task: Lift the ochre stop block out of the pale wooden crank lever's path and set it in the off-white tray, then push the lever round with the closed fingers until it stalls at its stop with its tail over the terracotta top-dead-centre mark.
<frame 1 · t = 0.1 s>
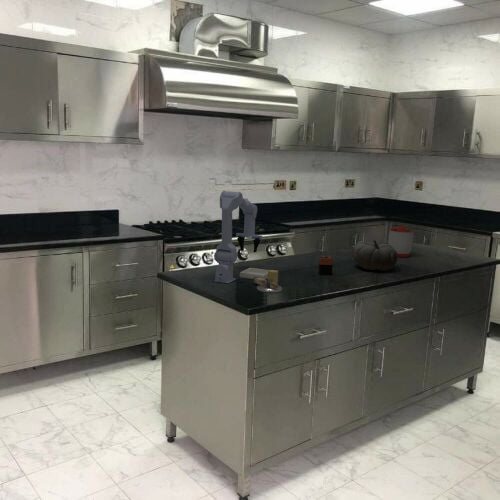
hand: (248, 251, 293), 10 cm above the counter, fingers open, 7 cm apart
gourd: (374, 269, 309), on the counter
stop block: (272, 282, 269), on the counter
tray: (256, 276, 280), on the counter
citrus juicer: (400, 256, 350), on the counter
crank lever: (265, 281, 258), point 3 cm above the counter, hinge at 0.0°
battery: (325, 274, 291), on the counter
crank base: (269, 289, 257), on the counter
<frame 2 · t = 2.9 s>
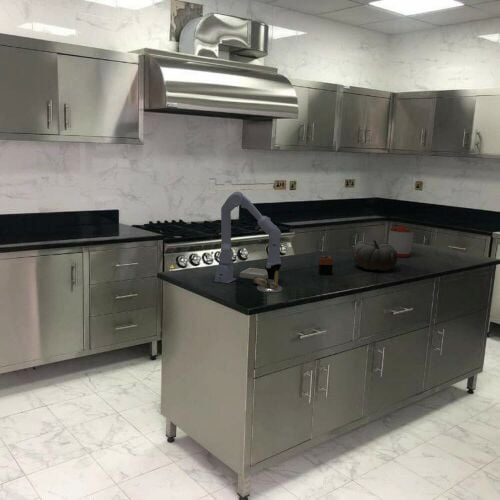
hand: (272, 279, 268), 2 cm above the counter, fingers closed on stop block, 4 cm apart
stop block: (272, 282, 269), on the counter, touching gripper
everything else where it was.
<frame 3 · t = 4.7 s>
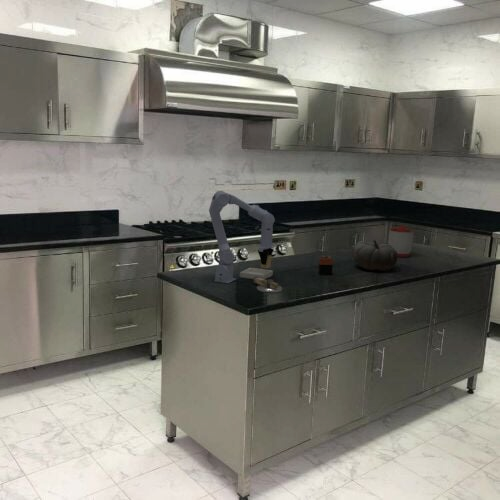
hand: (265, 263, 273), 8 cm above the counter, fingers closed on stop block, 4 cm apart
stop block: (265, 267, 273), point 7 cm above the counter, touching gripper
everything else where it was.
when the fingers open (3 cm above the counter, at t = 6.6 s): stop block stays where it is, resting on tray.
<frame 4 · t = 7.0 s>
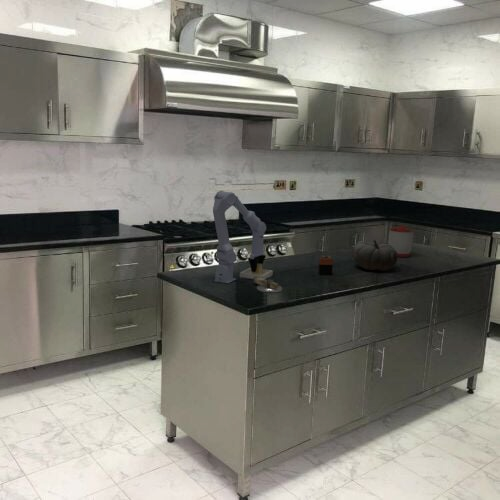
hand: (256, 270, 280), 3 cm above the counter, fingers open, 7 cm apart
stop block: (256, 275, 280), resting on tray
everything else where it was.
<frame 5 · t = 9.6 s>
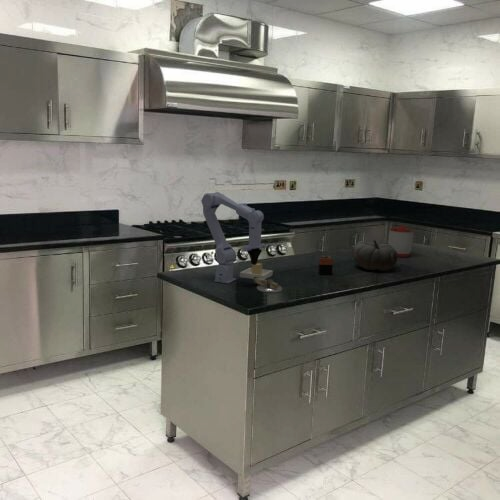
hand: (253, 264, 260), 10 cm above the counter, fingers closed
nothing on the counter moved.
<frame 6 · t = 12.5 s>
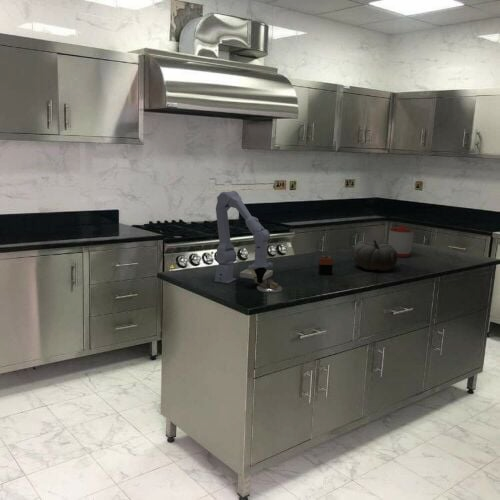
hand: (259, 283, 259), 2 cm above the counter, fingers closed, pressing on crank lever
crank lever: (265, 281, 259), point 3 cm above the counter, hinge at -1.2°, touching gripper
everything else where it was.
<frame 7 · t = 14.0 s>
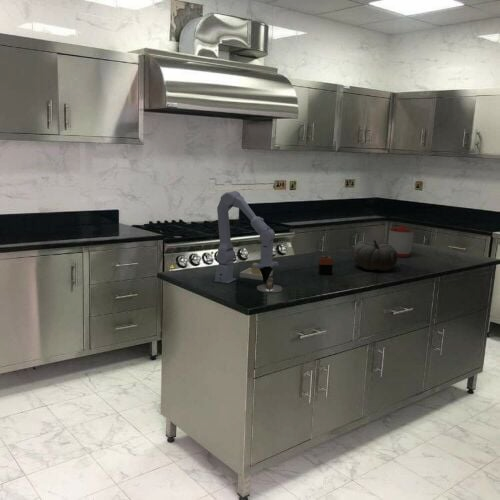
hand: (265, 282, 262), 2 cm above the counter, fingers closed
crank lever: (270, 281, 259), point 3 cm above the counter, hinge at -46.4°, touching gripper
everything else where it was.
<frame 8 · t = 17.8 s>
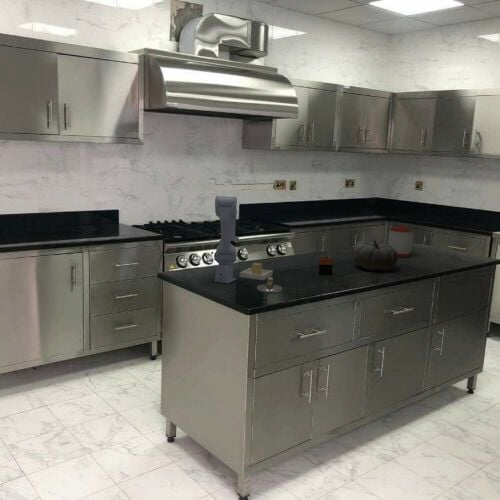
hand: (228, 255, 282), 9 cm above the counter, fingers closed
crank lever: (270, 281, 259), point 3 cm above the counter, hinge at -46.5°
everything else where it was.
at the end: stop block inside the target area on the tray (0.2 cm from its centre), point 0.5 cm above the tray's base; crank lever at -46° (first picture: +0°) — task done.
